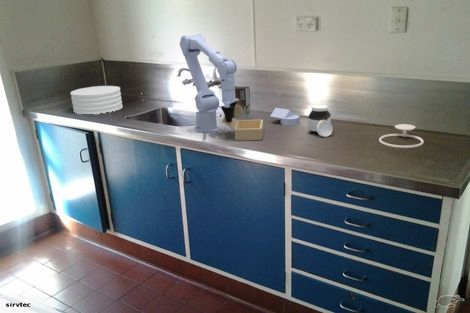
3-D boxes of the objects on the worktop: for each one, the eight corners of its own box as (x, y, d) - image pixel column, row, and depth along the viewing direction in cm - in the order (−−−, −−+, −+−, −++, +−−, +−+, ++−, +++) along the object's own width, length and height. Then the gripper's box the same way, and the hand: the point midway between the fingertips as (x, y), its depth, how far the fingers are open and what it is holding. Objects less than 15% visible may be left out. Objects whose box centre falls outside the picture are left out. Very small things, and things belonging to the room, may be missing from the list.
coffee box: (251, 117, 223) (250, 86, 218) (247, 120, 218) (245, 88, 212) (234, 116, 227) (233, 85, 221) (230, 119, 221) (228, 88, 216)
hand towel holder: (375, 135, 171) (385, 122, 188) (374, 146, 172) (385, 132, 189) (421, 139, 163) (428, 125, 180) (420, 150, 164) (427, 136, 181)
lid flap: (234, 128, 186) (233, 129, 186) (237, 120, 199) (236, 121, 199) (222, 120, 185) (221, 121, 185) (226, 112, 198) (225, 113, 198)
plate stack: (63, 112, 256) (60, 93, 252) (100, 102, 278) (97, 84, 275) (96, 116, 242) (93, 96, 238) (132, 106, 264) (130, 87, 260)
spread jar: (318, 128, 198) (319, 103, 195) (340, 132, 191) (341, 106, 187) (302, 134, 191) (302, 108, 187) (324, 139, 183) (325, 112, 179)
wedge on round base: (270, 123, 211) (292, 127, 203) (269, 109, 209) (292, 112, 201) (281, 119, 217) (303, 122, 209) (281, 105, 215) (303, 109, 207)
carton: (235, 140, 186) (234, 129, 185) (238, 130, 201) (238, 120, 200) (261, 140, 185) (261, 129, 184) (263, 130, 200) (263, 119, 198)
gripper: (235, 92, 180) (237, 124, 184) (239, 86, 194) (240, 115, 198) (218, 92, 181) (221, 124, 185) (223, 86, 194) (225, 116, 199)
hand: (230, 120), depth 192 cm, fingers open, 7 cm apart
